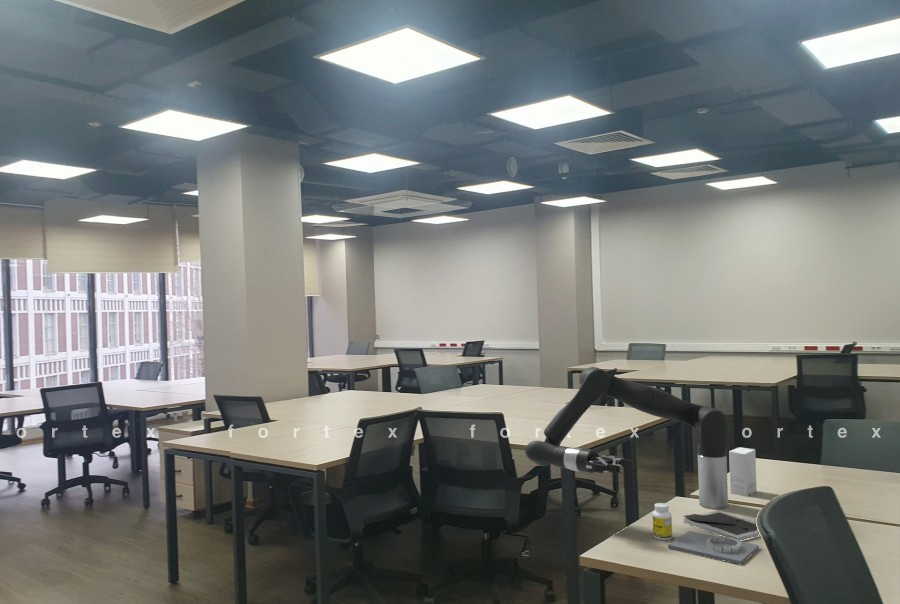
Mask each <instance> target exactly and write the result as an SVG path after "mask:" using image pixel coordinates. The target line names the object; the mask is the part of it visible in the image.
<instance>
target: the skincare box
mask: <svg viewBox="0 0 900 604" xmlns="http://www.w3.org/2000/svg"><path fill="white" fill-rule="evenodd" d="M728 455H729V456H728V458H729V491H730V492H731V493H730V494H733V493H734V494H733V495H738V494H740V495H739V496H743V495H746V496H745V497H748V496H750V495H752V494H755V493H757V465H756V464H757V463H756V461H757V460H756V449H755V448H748V447H747V448H746V447H741V446H740V447H736V448H734V449H732V450H729V453H728ZM751 493H752V494H751ZM749 494H750V495H749ZM747 495H748V496H747Z"/></svg>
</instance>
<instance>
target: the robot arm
mask: <svg viewBox="0 0 900 604" xmlns="http://www.w3.org/2000/svg"><path fill="white" fill-rule="evenodd" d="M579 384H580V387H579V389H578V391H577V392H576V393H575V394H574V396H573V397H572V399H571V400H570V401H569V402H568V403H566V405H565V406H564V407H563V408H562V407H561V409H560V410H559V411H558V412H557V413H556V414H555V415H554V417H553V418H552V420H551V421H550V422H549V424H547V426H546V427H545V429H544V431H543V434H544V436H545V439H544V441H541V440H532V441H529V443H527V444H526V446H525V448H524V449H525V450H524V453H525V456H526V457H527V458H528V459H529V460H530V461H531V462H533V463H535V465H537V466H540V467H547V466H548V465H552V466H554V467H557V468H561V469H568V470H571V471H575V472H581V473H585V474H586V473H587V474H595V473H599V474H604V473H614V474H620V473H621V467H625V468H634V467H635V466H634V460H632V459H631V460H630V459H625V458H624V456H621V455H612V454H606V455H600V456H599V454H598V452H597V451H596V450H595V449H591V448H583V447H575V446H574V447H570V446H565V445H564V446H562V445H561V443H562V442H563V440H565V438H566V437H567V435H569V433H570V432H571V430H572V429H573V428H574V427H575V425H576V424H577V423H578V421H579V420H580V419H581V417H582V416H583V415H584V414H585V413H586V412H587V411H588V409H589V408H590V407H591V406H592V405H593V404H594V403H595V402H596V401H597V400H598V399H600V398H601V397H602V396H606V397H608V398H612V399H614V400H617V401H619V402H621V403H622V404H625V405H626V406H629V407H631V408H632V409H635V410H638V411H640V412H643V413H645V414H648V415H651V416H653V417H657V418H662V419H668V420H674V421H678V422H681V423H682V424H685V425H688V426H690V427H692V428H693V429H696V430H697V431H699V432H700V444H699V445H697V447H696V448H697V472H698V476H697V477H698V497H699V498H698V501H699V502H698V503H699V505H700V506H701V507H704V508H708V509H717V510H718V509H719V510H720V509H725V508H728V507H729V493H728V492H729V491H728V490H729V489H728V467H727V466H728V465H727V464H728V463H727V461H728V460H727V450H728V448H729V423H728V422H729V421H728V417H727V415H726V414H725V413H724V412H723V411H721V410H719V409H716V408H714V407H711V406H707V405H706V406H705V405H701V404H697V403H693V402H689V401H686V400H683V399H682V398H681V399H680V398H679V397H677V396H675V395H674V394H671V393H669V392H667V391H664V390H662V389H659V388H657V387H655V386H651V385H648V384H644V383H640V382H636V381H632V380H627V379H623V378H620V377H618V376H615V375H613V374H611V373H609V372H607V371H605V370H604V369H602V368H599V367H595V366H590V367H587V368H585V369H584V370H582V371H581V373H580V374H579Z"/></svg>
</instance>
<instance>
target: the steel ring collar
mask: <svg viewBox="0 0 900 604" xmlns="http://www.w3.org/2000/svg"><path fill="white" fill-rule="evenodd" d="M713 536H714V537H709V538H708V539H706V545H707V548H709V549H711V550H713V551H716V552H720V553H722V552H723V553H737V552H740V551H741V550H742V544H741V542H740V541H739V540H737V539H734V538H730V537H724V536H718V535H713ZM713 543H728V544H732V545H734V546H730V547H729V546H719V545H715V544H713Z"/></svg>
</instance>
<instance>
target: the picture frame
mask: <svg viewBox="0 0 900 604" xmlns="http://www.w3.org/2000/svg"><path fill="white" fill-rule="evenodd" d="M683 517H684V518H683V523H684V524H686V525H688V524H689V526H691V525H693V526H692V527H694V526H696V527H699V528H701V529H700V530H702V529H704V530H703V531H705V530H707V531H710V532H713V533H716V534H719V535H722V536H725V537H730V538H734V539H737V540H739V541H740V540H744V539H747V538H751V537H756V536H757V537H758V535H759V532H758V530H757V527H756V521H755V520H754V521H753V520H750V519H747V518H744V517H740V516H737V515H735V514H731V513H730V512H729V513H728V512H725V511H723V510H720V509H719V510H715V511H709V512H706V513H702V514H699V513H698V514H696V513H693V514H692V513H691V514H686V515H683ZM696 527H695V528H696ZM699 528H698V529H699ZM707 531H706V532H707ZM710 532H709V533H710ZM713 533H712V534H713ZM759 536H760V535H759ZM758 538H759V537H758Z"/></svg>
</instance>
